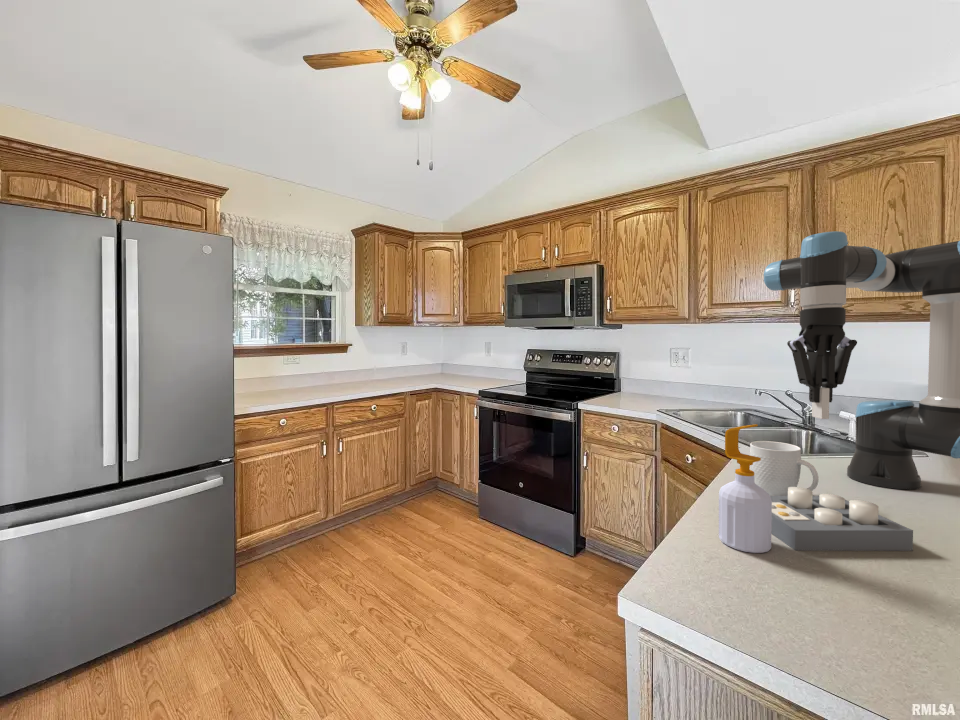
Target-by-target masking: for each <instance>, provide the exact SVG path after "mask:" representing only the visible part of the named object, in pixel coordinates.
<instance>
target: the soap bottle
mask: <svg viewBox="0 0 960 720" xmlns="http://www.w3.org/2000/svg"><path fill="white" fill-rule="evenodd" d="M755 427H758V423H757V424H749V425H741V426H737V427H730V428H728V429H727V430H725V433H724V453H725V456H726V457H727V458H729V459H731V460H736V464H739V468H736V469H734V470H735V472H734V480H733V481H730V482H727V483H726V484H724V485H722V486H720V489H719V490H718V491H719V492H718V539H719V540H720V541H721V542H722V543H723V544H725V545H726V546H728V547H730V548H732V549H735V550H738V551H740V552H744V553H750V554H761V553H767V552H769V551H770V550H771V549H772V534H771V530H772V500H771V497H770V495H769V494H768V493H767V492H766V491H765V490H764V489H763V488H761V487H760V486H758V485H756V484H755V482H754V471H751V467H750V466H751V465H753V462H757V461H761V458H759V457H755V456H750V454H746V453H742V452H741V451H740V450H739V434H740V430H743V429H751V428H755Z"/></svg>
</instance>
